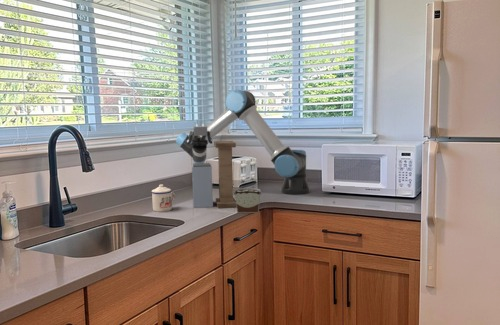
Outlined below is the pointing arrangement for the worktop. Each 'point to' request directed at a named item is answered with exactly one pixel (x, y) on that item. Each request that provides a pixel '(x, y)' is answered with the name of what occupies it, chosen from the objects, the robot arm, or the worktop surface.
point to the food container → (247, 200)
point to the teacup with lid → (162, 199)
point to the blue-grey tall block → (202, 185)
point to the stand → (225, 174)
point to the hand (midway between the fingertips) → (200, 126)
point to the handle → (200, 131)
